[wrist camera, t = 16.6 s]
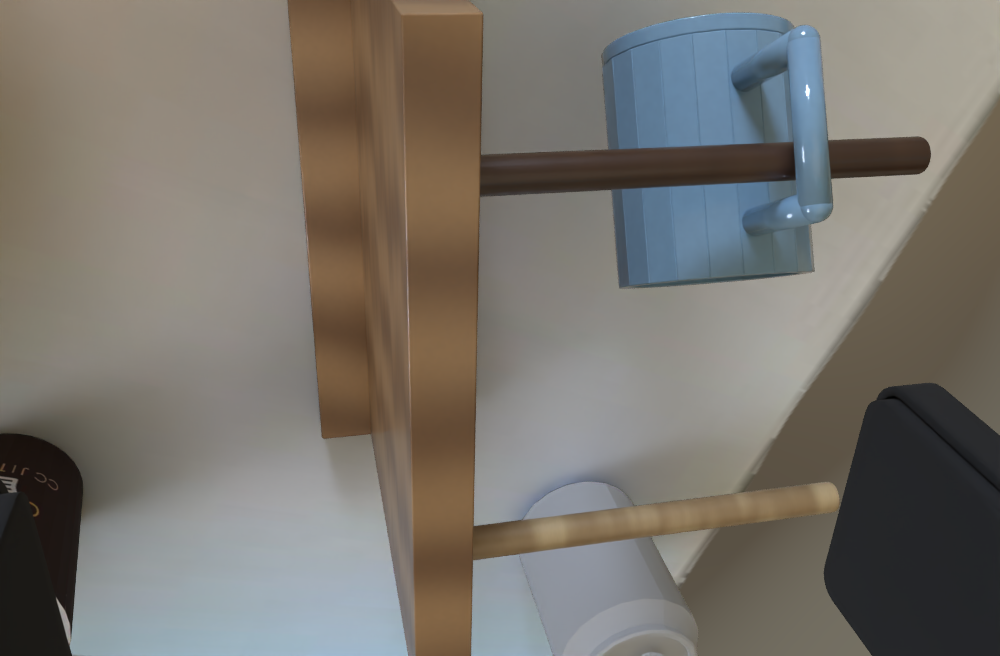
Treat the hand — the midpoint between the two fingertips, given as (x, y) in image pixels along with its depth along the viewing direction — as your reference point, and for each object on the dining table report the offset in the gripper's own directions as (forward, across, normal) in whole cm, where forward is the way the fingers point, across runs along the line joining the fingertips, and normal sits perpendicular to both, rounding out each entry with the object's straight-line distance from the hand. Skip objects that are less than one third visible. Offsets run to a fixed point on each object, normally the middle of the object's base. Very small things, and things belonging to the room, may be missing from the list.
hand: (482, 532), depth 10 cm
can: (+34, -13, +30) cm, 47 cm away
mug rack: (+33, -8, +9) cm, 35 cm away
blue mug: (+24, -14, -1) cm, 27 cm away
